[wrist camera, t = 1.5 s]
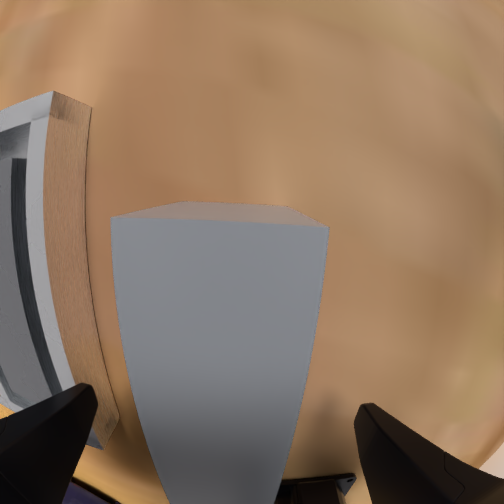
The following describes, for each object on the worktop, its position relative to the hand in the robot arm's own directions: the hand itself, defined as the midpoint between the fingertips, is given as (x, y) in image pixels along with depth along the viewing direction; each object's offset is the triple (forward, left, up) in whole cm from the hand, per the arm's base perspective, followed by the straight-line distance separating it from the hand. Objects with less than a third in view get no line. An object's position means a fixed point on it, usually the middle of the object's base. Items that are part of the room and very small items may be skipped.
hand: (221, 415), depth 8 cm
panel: (0, 0, -4) cm, 5 cm away
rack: (+2, +14, -4) cm, 15 cm away
